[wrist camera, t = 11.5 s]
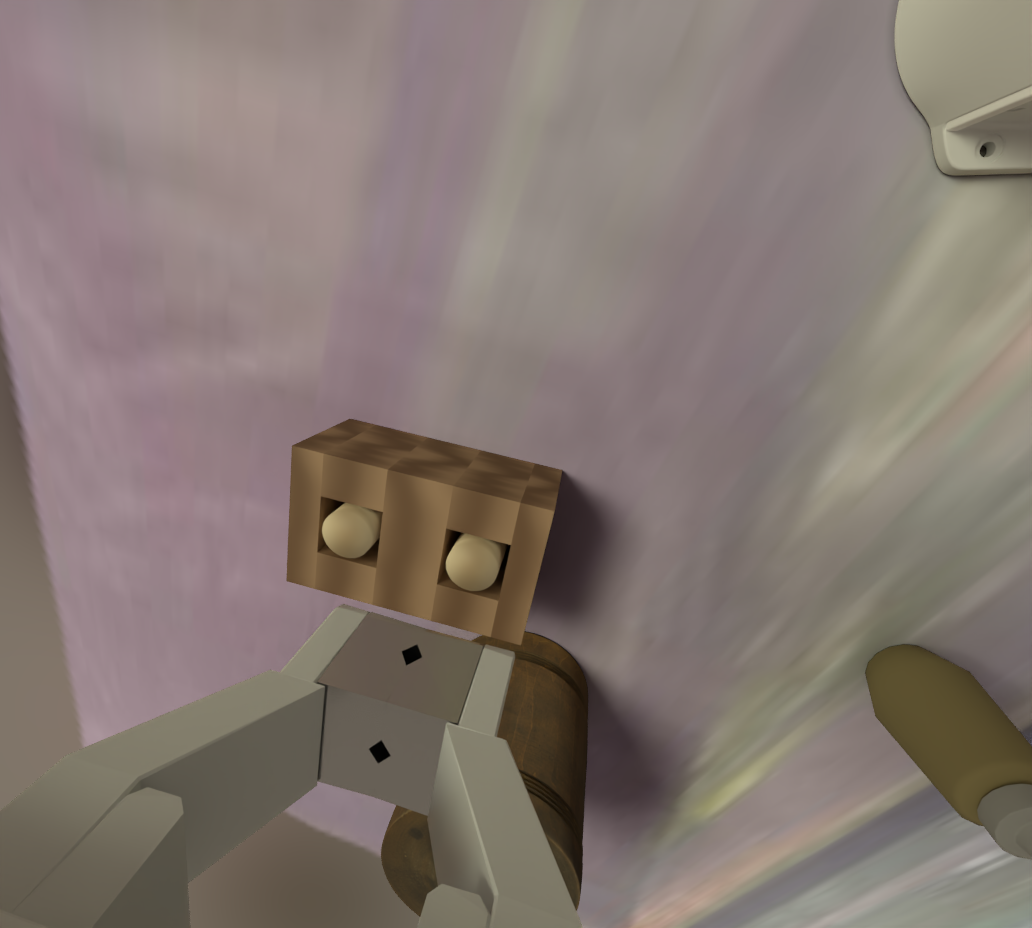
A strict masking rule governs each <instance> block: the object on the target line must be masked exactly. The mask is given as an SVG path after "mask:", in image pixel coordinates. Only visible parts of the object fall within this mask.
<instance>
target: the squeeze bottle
mask: <svg viewBox="0 0 1032 928" xmlns="http://www.w3.org/2000/svg"><path fill="white" fill-rule="evenodd" d="M865 674H866V678H867V683H868V687H869V691H870V695H871V699H872V704H873V708H874V712H875V716H876V717H877V719H878V720H879V721H880V722H881V723H882V724H883V726H884V727H885V728H886V729H887V730H888V732H889V733H890V734H891V735H892V736H893V737H894V739H895V740H896V741H897V742H898V743H899V745H900V746H901V747H902V748H903V749H904V750H905V752H906V753H907V754H908V755H909V756H910V758H911V759H912V760H913V761H914V762H915V763H916V765H917V766H918V767H919V768H920V769H921V770H922V772H923V773H924V774H925V775H926V776H927V778H928V779H929V780H930V781H931V782H932V783H933V785H934V786H935V787H936V788H937V789H938V791H939V792H940V793H941V794H942V795H943V796H944V798H945V799H946V800H947V801H948V802H949V803H950V805H951V806H952V807H953V808H954V809H955V810H956V811H957V813H958V814H959V815H960V816H961V817H962V818H964V819H966V820H969V821H971V822H973V823H975V824H977V825H980V826H984V827H985V828H986V830H987V831H988V832H989V834H990V835H991V836H992V838H993V839H994V840H995V842H996V843H997V844H998V845H999V846H1000V847H1001V848H1002V849H1003V850H1004V851H1006V852H1008V853H1010V854H1012V855H1014V856H1017V857H1021V858H1027V859H1032V746H1031V745H1030V744H1029V743H1028V741H1027V740H1026V739H1025V738H1024V737H1023V735H1022V734H1021V733H1020V732H1019V731H1018V729H1017V728H1016V727H1015V726H1014V725H1013V723H1012V722H1011V721H1010V720H1009V719H1008V717H1007V716H1006V715H1005V714H1004V713H1003V711H1002V710H1001V709H1000V708H999V707H998V705H997V704H996V703H995V702H994V701H993V699H992V698H991V697H990V696H989V695H988V693H987V692H986V691H985V690H984V689H983V687H982V686H981V685H980V684H979V683H978V681H977V680H976V679H975V678H974V677H973V676H972V674H971V673H970V672H968V671H966V670H965V669H963V668H961V667H959V666H957V665H955V664H953V663H951V662H949V661H947V660H945V659H943V658H941V657H939V656H937V655H935V654H933V653H932V652H930V651H927V650H925V649H923V648H921V647H919V646H913V645H904V644H903V645H898V646H892V647H888V648H886V649H884V650H883V651H881V652H879V653H877V654H876V655H875V656H874V657H873V658H872V659H871V660H870V661H869V662H868V666H867V669H866V672H865Z"/></svg>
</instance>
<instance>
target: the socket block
mask: <svg viewBox="0 0 1032 928" xmlns="http://www.w3.org/2000/svg"><path fill="white" fill-rule="evenodd" d="M561 475H562V470H559V469H555V468H551V467H547V466H543V465H539V464H535V463H530V462H526V461H522V460H518V459H514V458H510V457H506V456H502V455H497V454H493V453H489V452H485V451H481V450H477V449H473V448H469V447H464V446H460V445H456V444H452V443H448V442H444V441H440V440H436V439H432V438H427V437H423V436H419V435H415V434H411V433H407V432H403V431H399V430H394V429H390V428H386V427H382V426H378V425H374V424H370V423H366V422H361V421H357V420H353V419H349V420H346V421H344V422H342V423H340V424H338V425H336V426H333V427H331V428H329V429H327V430H325V431H323V432H321V433H318V434H316V435H314V436H312V437H310V438H308V439H305V440H303V441H301V442H299V443H297V444H295V445H292V459H291V484H290V509H289V534H288V558H287V581H288V582H292V583H296V584H299V585H303V586H307V587H310V588H314V589H317V590H321V591H325V592H328V593H332V594H336V595H339V596H343V597H347V598H350V599H354V600H358V601H361V602H365V603H368V604H372V605H376V606H379V607H383V608H387V609H390V610H394V611H398V612H401V613H405V614H409V615H412V616H416V617H419V618H423V619H427V620H430V621H434V622H438V623H441V624H445V625H449V626H452V627H456V628H460V629H463V630H467V631H470V632H474V633H478V634H481V635H485V636H489V637H492V638H496V639H500V640H503V641H507V642H510V643H514V644H518V645H521V643H522V639H523V635H524V631H525V627H526V623H527V619H528V615H529V611H530V607H531V603H532V599H533V595H534V591H535V587H536V583H537V579H538V575H539V571H540V567H541V563H542V559H543V555H544V551H545V547H546V543H547V539H548V536H549V532H550V528H551V524H552V520H553V516H554V512H555V507H556V501H557V496H558V491H559V486H560V480H561ZM345 502H346V503H349V504H353V505H357V506H361V507H365V508H369V509H373V510H377V511H380V512H383V515H382V523H381V532H380V538H379V539H378V540H377V541H376V542H375V543H374V544H373V546H372V547H371V548H370V549H369V550H368V551H367V552H366V553H365V554H364V555H362V556H360V557H357V558H345V557H342V556H340V555H338V554H336V553H335V552H333V551H332V550H331V549H330V548H329V547H328V545H327V544H326V542H325V540H324V538H323V534H322V527H323V523H324V521H325V519H326V518H327V517H328V516H329V515H330V514H331V513H333V512H334V511H335V510H337V509H338V508H339V507H340V506H342V505H343V504H344V503H345ZM461 533H466V534H470V535H474V536H477V537H481V538H485V539H489V540H493V541H497V542H501V543H505V544H508V547H507V549H506V552H505V555H504V558H503V560H502V563H501V566H500V569H499V572H498V574H497V577H496V579H495V581H494V583H493V584H492V585H491V586H489V587H488V588H486V589H484V590H480V591H469V590H466V589H463V588H461V587H459V586H458V585H456V584H455V583H454V582H453V581H452V580H451V579H450V577H449V575H448V573H447V570H446V560H447V557H448V555H449V553H450V551H451V550H452V548H453V546H454V545H455V543H456V541H457V539H458V538H459V536H460V534H461Z"/></svg>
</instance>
